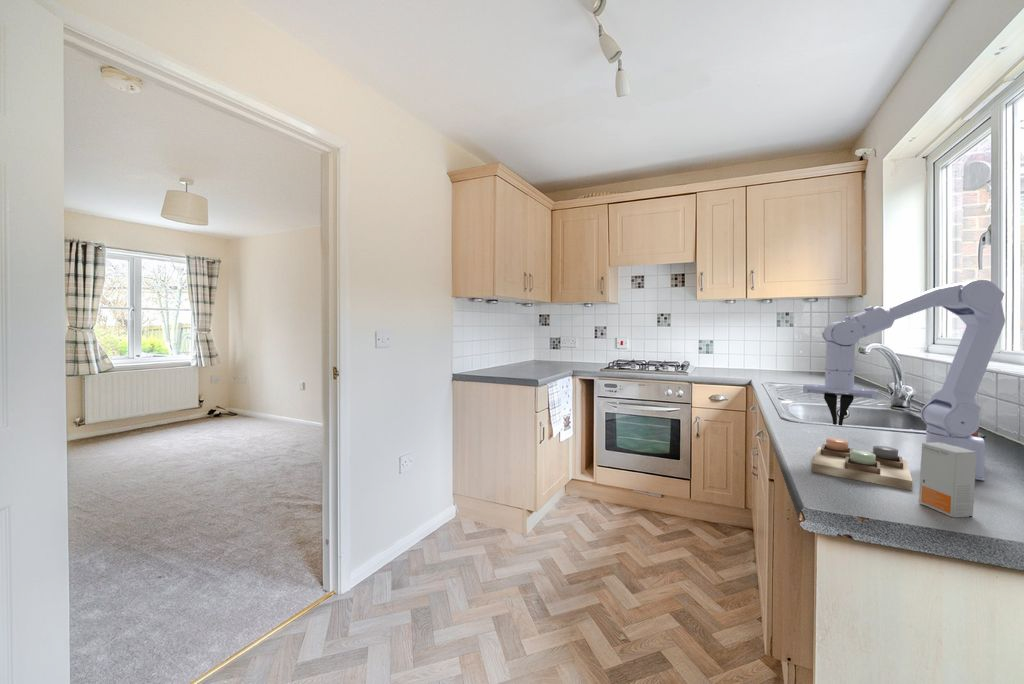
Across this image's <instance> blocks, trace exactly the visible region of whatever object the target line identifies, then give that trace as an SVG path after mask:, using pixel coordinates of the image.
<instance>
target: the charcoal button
mask: <svg viewBox="0 0 1024 684" xmlns="http://www.w3.org/2000/svg"><path fill="white" fill-rule="evenodd" d="M872 452H873V454H875V455H876V456H877V457H880V458H886V459H898V456H899V449H897V448H894V447H891V446H885V445H873V446H872Z"/></svg>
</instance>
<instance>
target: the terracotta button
mask: <svg viewBox="0 0 1024 684" xmlns="http://www.w3.org/2000/svg"><path fill="white" fill-rule="evenodd" d="M825 444H826V447H828V448H830V449H835V450H848V448H849V441H848V440H845V439H842V438H836V437H835V438H834V437H833V438H832V437H828V438H825Z"/></svg>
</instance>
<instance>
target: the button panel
mask: <svg viewBox="0 0 1024 684" xmlns="http://www.w3.org/2000/svg"><path fill="white" fill-rule="evenodd" d="M853 450H854V449H853V447H848V450H835V449H830V448H828V447H826V443H822V446H818V447H817V449H816V452H815V455H814V457H813V460H812V462H811V473H817V474H821V475H822V474H823V475H827V476H833V477H838V478H839V477H840V478H844V479H849V480H855V481H860V482H866V483H870V482H871V484H875V483H876V484H877V485H881V486H882V485H883V486H886V487H890V488H891V487H892V488H897V489H903V490H908V491H912V490H913V478H912V475H911V471H910V467H909V465H908V460H906V459H903V457H902V456H899V455H898V459H886V458H880V457H877V456H876V461H875V464H873V465H869V464H861V463H857V462H853V461H851V460H850V451H853ZM869 452H870V453H873V451H869Z"/></svg>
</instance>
